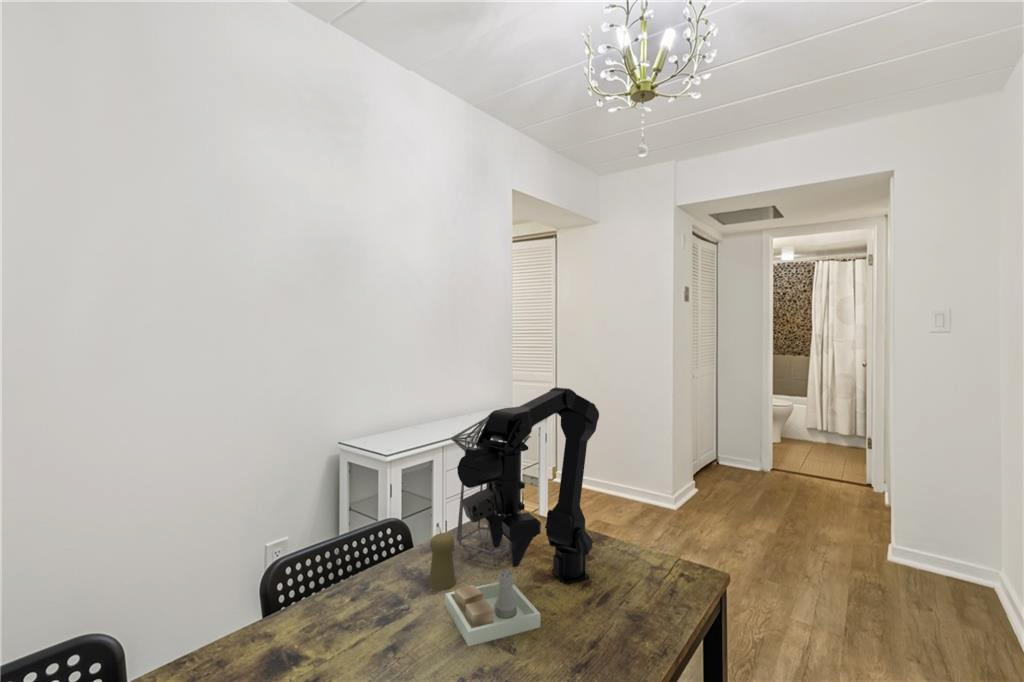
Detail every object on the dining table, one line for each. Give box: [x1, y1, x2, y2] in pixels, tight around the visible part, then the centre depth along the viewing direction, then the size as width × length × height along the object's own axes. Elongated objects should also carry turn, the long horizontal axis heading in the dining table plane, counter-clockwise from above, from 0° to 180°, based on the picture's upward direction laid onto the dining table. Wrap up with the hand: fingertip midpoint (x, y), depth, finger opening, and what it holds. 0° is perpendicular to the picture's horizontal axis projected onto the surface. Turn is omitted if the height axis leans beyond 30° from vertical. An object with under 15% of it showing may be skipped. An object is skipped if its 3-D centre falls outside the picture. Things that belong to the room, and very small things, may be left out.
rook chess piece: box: [494, 568, 517, 618], centre depth 96 cm, size 4×4×8 cm
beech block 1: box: [454, 584, 483, 619], centre depth 96 cm, size 4×4×4 cm
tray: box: [444, 581, 542, 647], centre depth 95 cm, size 14×14×3 cm
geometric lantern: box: [450, 414, 532, 567], centre depth 121 cm, size 16×16×35 cm
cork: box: [428, 532, 457, 591], centre depth 108 cm, size 6×6×11 cm
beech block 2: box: [466, 600, 494, 628], centre depth 91 cm, size 4×4×4 cm
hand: (505, 556), depth 96 cm, fingers open, 9 cm apart
